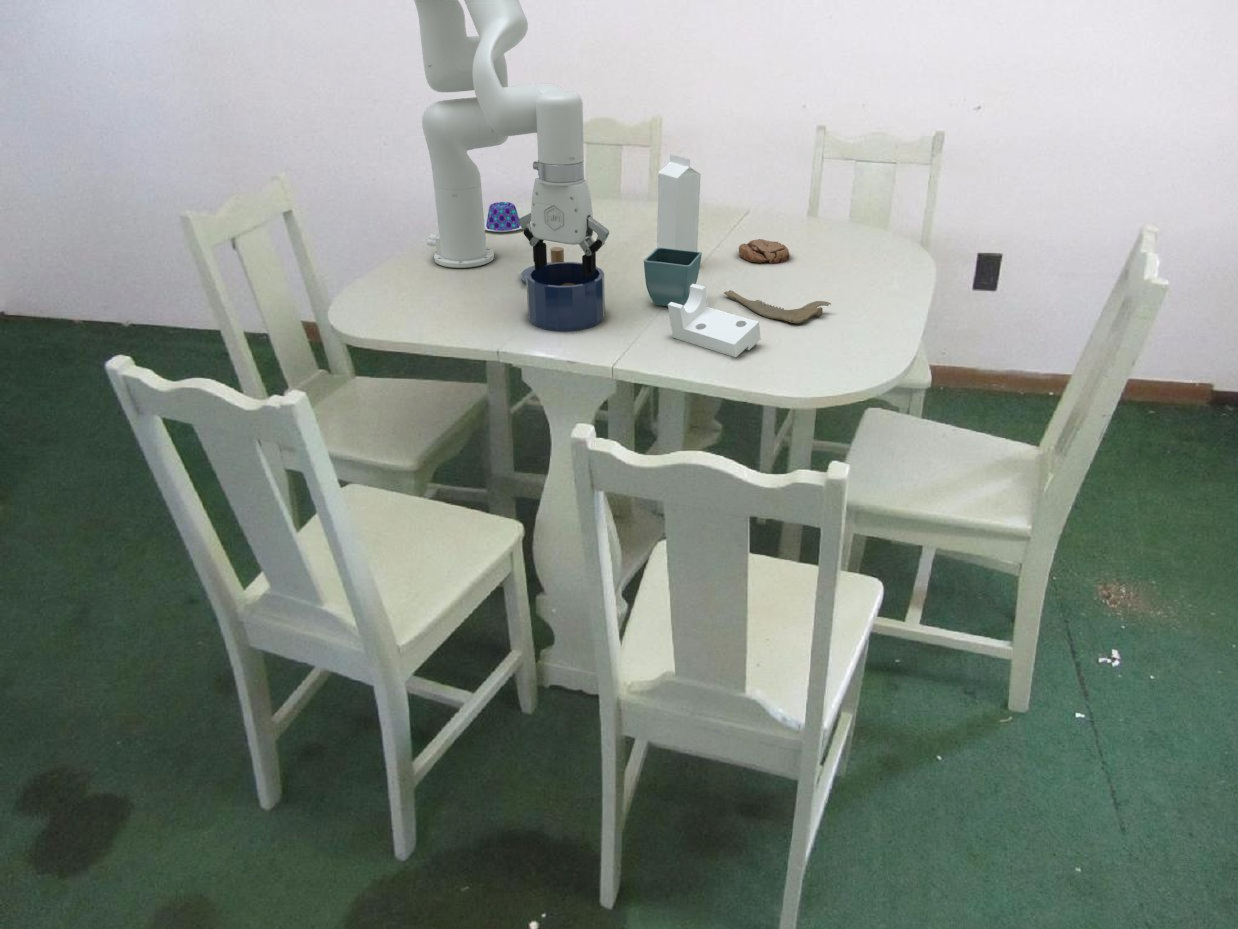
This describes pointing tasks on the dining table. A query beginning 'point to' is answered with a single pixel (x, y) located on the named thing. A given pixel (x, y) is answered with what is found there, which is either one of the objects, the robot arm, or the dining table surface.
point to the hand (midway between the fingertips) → (564, 271)
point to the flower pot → (671, 274)
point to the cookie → (764, 251)
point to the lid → (556, 256)
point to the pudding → (502, 217)
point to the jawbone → (779, 313)
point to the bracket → (711, 325)
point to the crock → (565, 297)
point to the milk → (678, 205)
